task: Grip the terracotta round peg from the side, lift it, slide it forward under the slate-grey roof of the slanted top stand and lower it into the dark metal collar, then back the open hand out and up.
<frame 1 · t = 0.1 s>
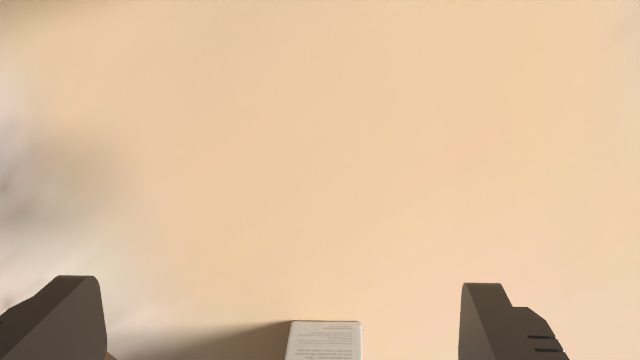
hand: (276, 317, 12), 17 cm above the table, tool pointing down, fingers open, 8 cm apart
skincare box: (328, 358, 34), on the table
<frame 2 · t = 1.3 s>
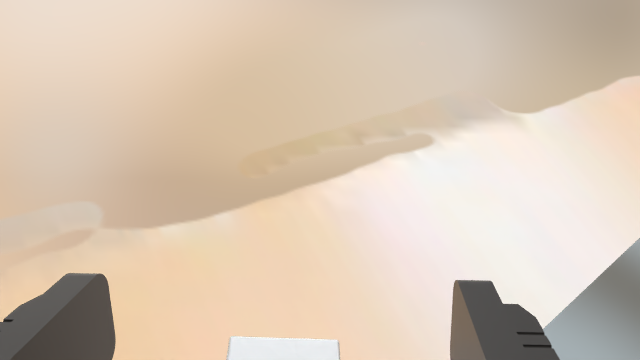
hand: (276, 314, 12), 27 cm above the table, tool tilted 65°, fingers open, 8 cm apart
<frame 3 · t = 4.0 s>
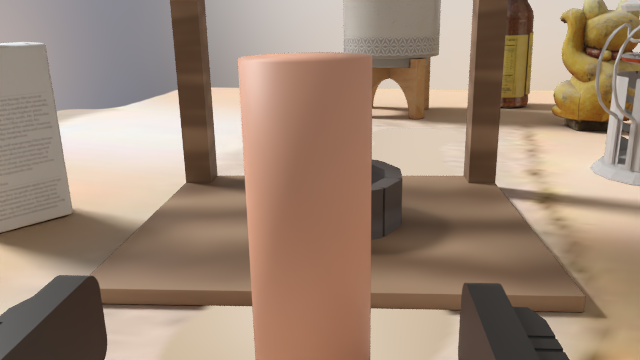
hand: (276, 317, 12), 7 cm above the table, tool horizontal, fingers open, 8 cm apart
sauce bottle: (505, 107, 83), on the table
decorative figurine: (596, 129, 66), on the table
slanted top stand: (332, 230, 36), on the table
skincare box: (18, 222, 39), on the table
planter: (389, 113, 80), on the table
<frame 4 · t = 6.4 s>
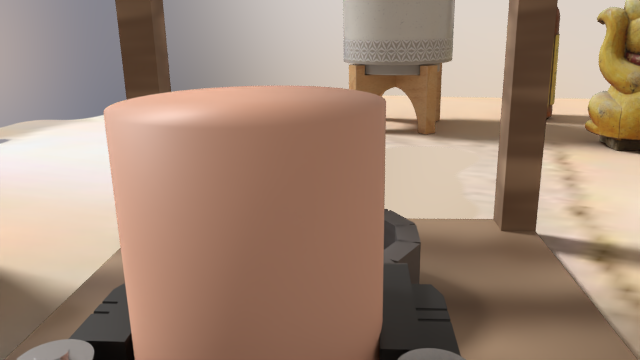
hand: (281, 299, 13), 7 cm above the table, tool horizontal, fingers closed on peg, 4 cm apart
sauce bottle: (526, 118, 74), on the table
decorative figurine: (638, 148, 57), on the table
slanted top stand: (324, 306, 27), on the table
planter: (395, 126, 70), on the table
when the fingers open (9 cm above the table, at t = 12.4 s): peg drops 1 cm, resting on slanted top stand.
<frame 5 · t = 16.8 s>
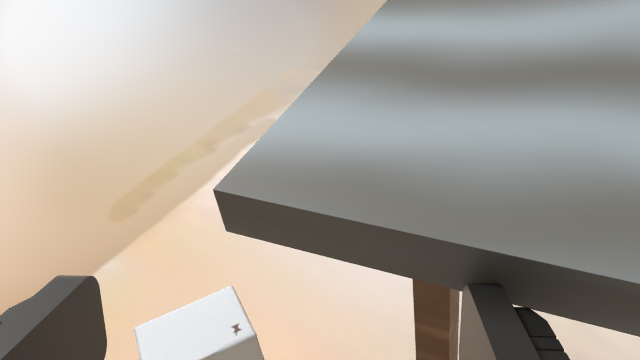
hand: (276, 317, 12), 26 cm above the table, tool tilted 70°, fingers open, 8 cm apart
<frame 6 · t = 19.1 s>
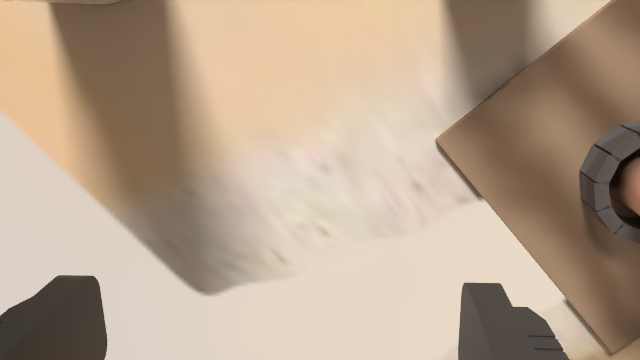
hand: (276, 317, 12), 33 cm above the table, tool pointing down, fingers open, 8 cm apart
peg: (636, 176, 43), point 1 cm above the table, touching slanted top stand
slanted top stand: (632, 173, 44), on the table
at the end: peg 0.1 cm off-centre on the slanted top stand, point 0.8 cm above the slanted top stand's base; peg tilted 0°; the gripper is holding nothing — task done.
